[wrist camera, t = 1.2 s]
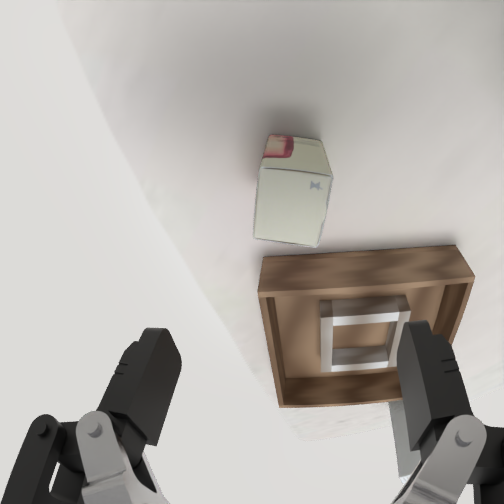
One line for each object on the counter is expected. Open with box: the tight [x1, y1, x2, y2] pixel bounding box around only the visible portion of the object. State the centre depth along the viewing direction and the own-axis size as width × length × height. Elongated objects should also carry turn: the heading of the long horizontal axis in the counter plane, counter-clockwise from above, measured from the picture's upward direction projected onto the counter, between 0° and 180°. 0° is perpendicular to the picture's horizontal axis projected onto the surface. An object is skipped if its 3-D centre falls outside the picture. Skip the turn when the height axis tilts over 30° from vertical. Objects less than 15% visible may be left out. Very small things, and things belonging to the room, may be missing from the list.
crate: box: [258, 245, 475, 408], centre depth 32 cm, size 19×19×5 cm
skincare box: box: [388, 400, 421, 485], centre depth 34 cm, size 8×6×15 cm
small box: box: [253, 135, 333, 248], centre depth 22 cm, size 5×4×8 cm
